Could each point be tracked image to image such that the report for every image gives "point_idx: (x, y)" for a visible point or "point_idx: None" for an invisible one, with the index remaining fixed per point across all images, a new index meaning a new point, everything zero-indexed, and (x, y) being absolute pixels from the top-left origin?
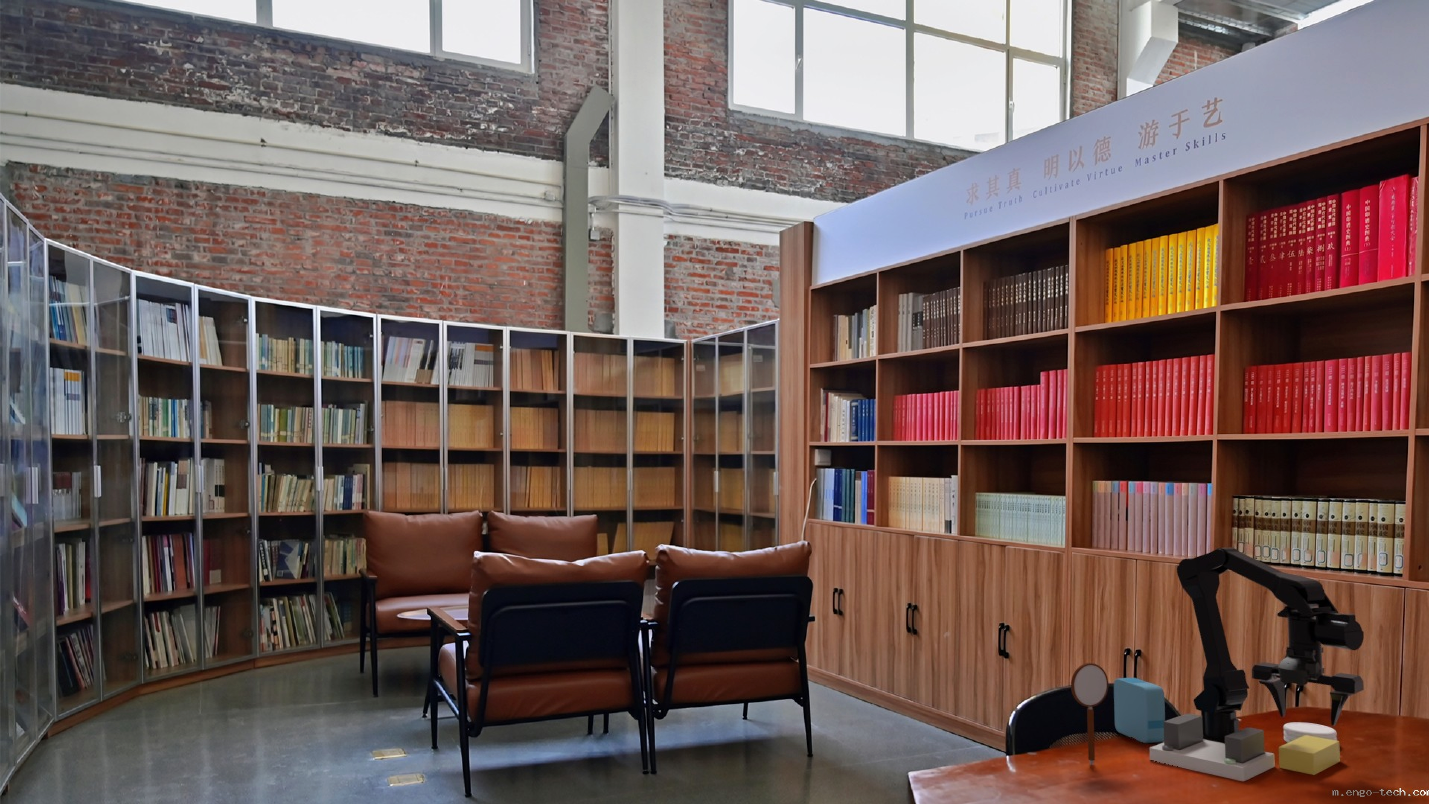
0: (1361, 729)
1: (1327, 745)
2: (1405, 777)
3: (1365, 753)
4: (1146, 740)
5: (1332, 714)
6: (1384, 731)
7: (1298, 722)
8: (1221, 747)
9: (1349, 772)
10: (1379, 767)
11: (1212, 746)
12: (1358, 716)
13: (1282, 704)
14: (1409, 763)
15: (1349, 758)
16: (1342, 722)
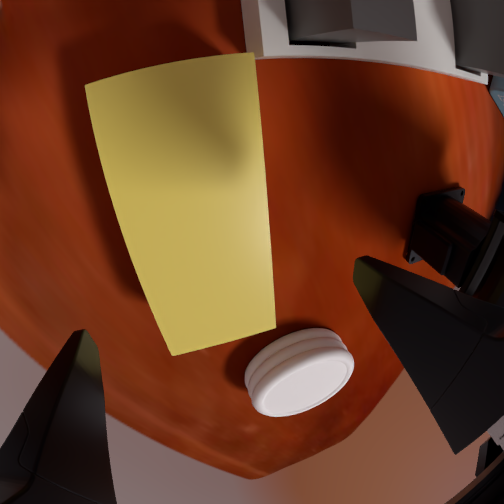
0: (270, 445)
1: (148, 281)
2: (10, 318)
3: (186, 393)
4: None
5: (55, 381)
6: (247, 456)
7: (335, 392)
8: None
9: (73, 234)
10: None
11: (423, 7)
12: (296, 457)
13: (400, 311)
14: None
15: None
16: (300, 442)
